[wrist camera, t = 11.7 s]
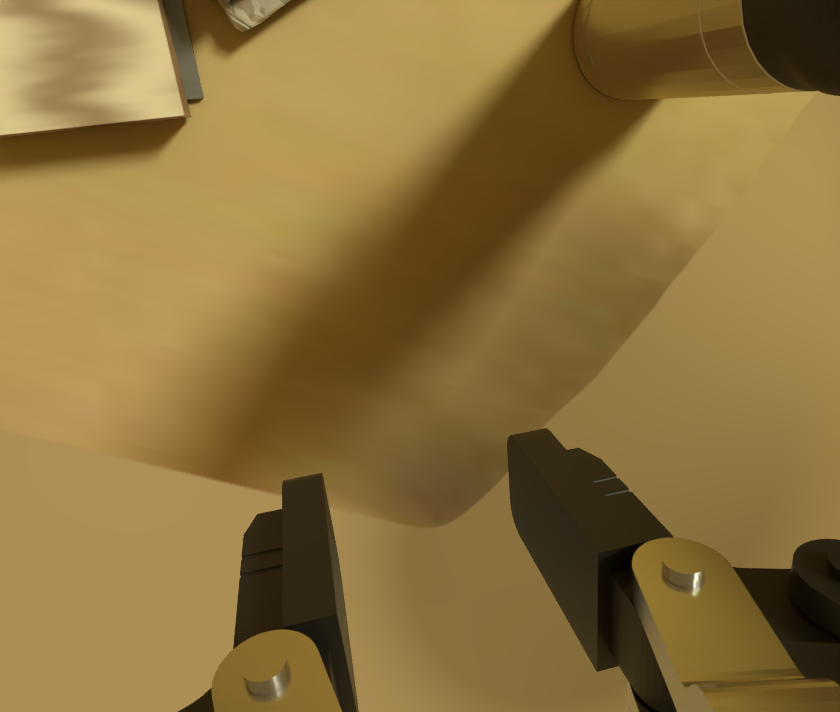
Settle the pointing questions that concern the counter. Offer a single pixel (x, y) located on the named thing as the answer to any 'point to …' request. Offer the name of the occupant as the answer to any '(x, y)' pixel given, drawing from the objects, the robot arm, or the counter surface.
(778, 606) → the robot arm
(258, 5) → the packaged product
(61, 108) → the walnut tile
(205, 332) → the counter surface
